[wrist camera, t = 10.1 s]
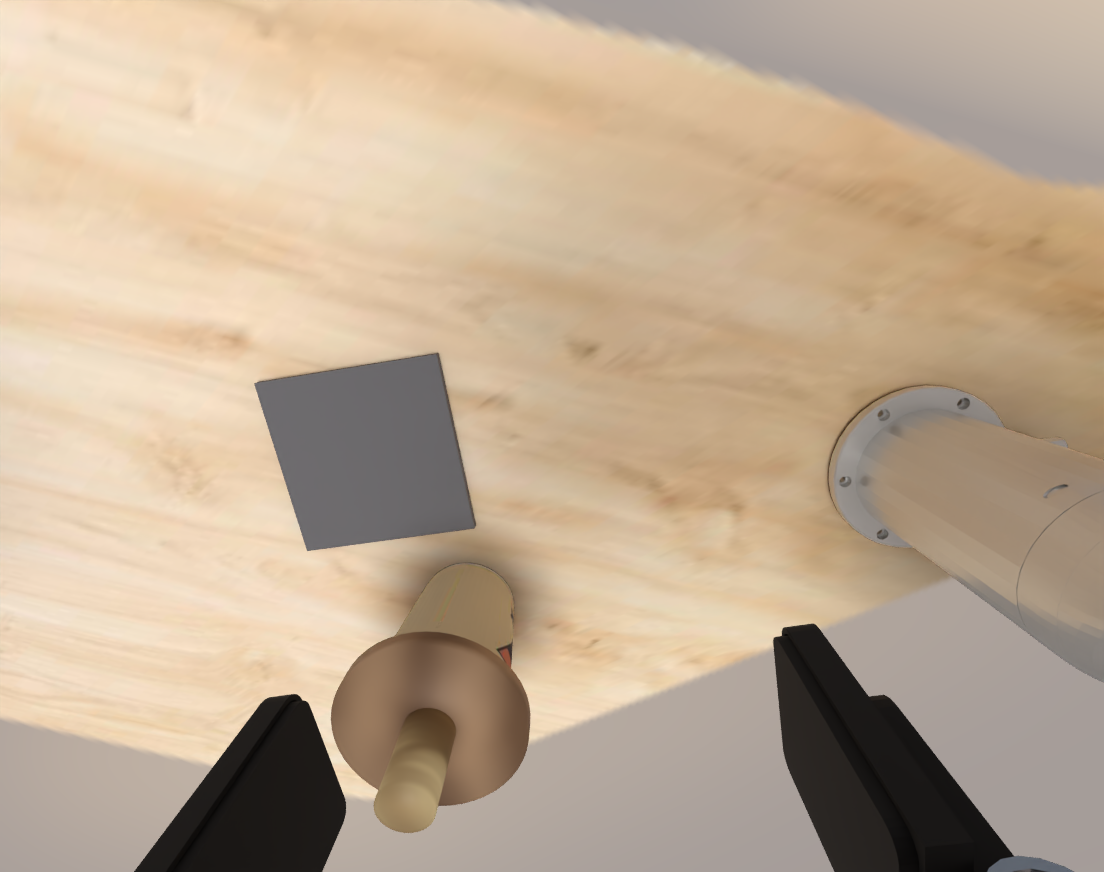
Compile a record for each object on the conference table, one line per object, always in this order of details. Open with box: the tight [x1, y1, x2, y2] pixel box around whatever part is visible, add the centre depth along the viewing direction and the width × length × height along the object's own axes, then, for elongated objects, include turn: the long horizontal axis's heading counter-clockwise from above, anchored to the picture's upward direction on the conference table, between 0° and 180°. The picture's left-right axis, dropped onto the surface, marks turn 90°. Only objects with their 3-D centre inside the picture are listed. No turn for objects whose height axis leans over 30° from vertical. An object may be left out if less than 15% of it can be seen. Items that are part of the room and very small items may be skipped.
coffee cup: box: [396, 563, 514, 668], centre depth 38 cm, size 9×9×12 cm
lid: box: [331, 631, 530, 833], centre depth 30 cm, size 12×12×6 cm
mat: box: [254, 353, 476, 551], centre depth 40 cm, size 14×14×1 cm
